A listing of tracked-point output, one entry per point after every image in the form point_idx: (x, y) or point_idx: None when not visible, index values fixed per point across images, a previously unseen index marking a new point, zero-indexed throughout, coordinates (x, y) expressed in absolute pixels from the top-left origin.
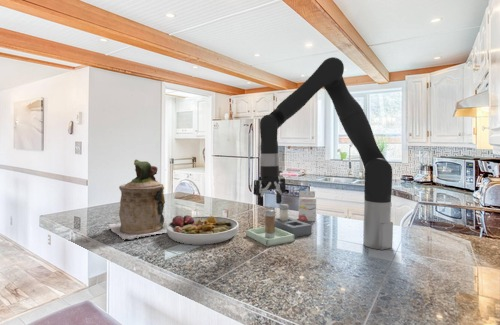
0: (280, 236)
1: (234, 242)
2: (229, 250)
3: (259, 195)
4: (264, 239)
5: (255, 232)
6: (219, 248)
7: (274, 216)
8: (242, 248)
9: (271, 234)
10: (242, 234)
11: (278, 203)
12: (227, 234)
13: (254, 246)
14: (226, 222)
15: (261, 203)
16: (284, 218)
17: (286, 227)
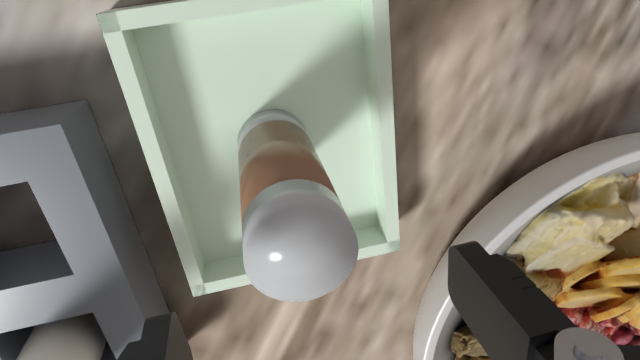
0: (191, 129)
1: (506, 133)
2: (604, 2)
3: (613, 353)
4: (386, 16)
5: None
6: (625, 61)
7: (258, 189)
8: (526, 6)
9: (279, 118)
10: (395, 255)
11: (179, 324)
12: (575, 160)
13: (444, 13)
14: None
15: (488, 265)
16: (61, 349)
17: (103, 204)
